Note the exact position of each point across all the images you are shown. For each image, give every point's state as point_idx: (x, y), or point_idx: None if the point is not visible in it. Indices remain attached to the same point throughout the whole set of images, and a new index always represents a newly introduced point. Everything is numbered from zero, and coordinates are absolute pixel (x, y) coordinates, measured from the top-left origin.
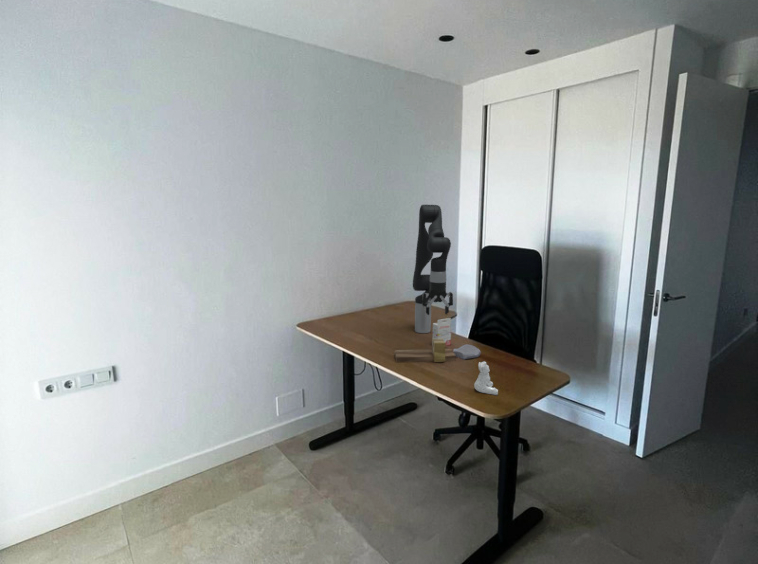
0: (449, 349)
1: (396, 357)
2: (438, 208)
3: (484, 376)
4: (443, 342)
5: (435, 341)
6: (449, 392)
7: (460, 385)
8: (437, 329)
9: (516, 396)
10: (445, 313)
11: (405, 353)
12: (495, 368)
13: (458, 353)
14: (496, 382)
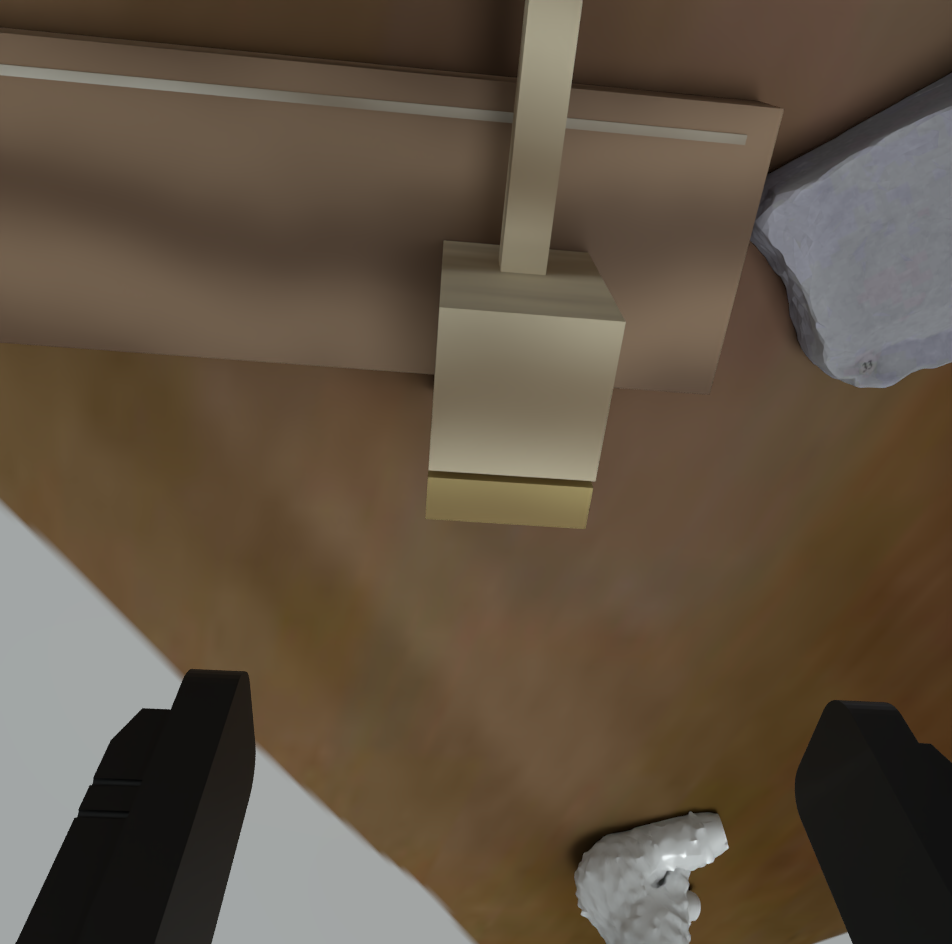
0: (743, 144)
1: None
2: None
3: None
4: (569, 492)
5: (458, 443)
6: (402, 854)
7: (510, 793)
8: None
9: (778, 916)
10: (815, 776)
11: (58, 209)
12: None
13: (795, 292)
14: (784, 783)
